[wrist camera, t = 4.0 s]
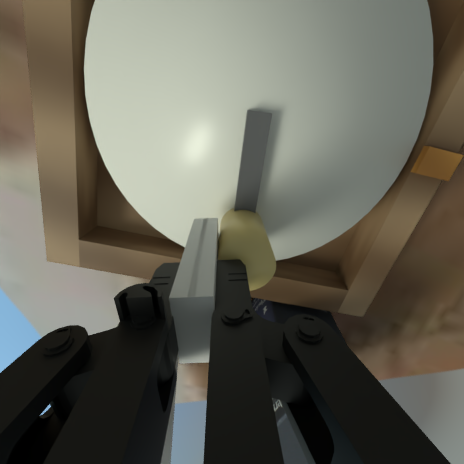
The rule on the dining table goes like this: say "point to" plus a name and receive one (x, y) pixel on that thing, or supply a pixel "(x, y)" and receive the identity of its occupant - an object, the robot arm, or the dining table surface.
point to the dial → (257, 114)
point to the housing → (167, 251)
